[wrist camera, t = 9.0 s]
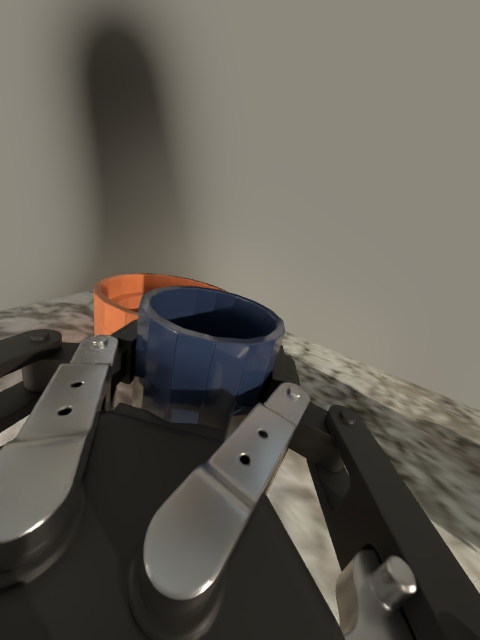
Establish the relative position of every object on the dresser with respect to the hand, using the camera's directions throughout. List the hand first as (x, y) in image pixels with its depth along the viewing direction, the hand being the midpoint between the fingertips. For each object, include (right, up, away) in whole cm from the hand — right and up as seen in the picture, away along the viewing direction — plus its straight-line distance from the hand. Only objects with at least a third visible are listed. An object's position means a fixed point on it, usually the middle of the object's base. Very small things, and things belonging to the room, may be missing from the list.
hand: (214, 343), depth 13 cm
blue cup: (-2, -6, 0) cm, 6 cm away
